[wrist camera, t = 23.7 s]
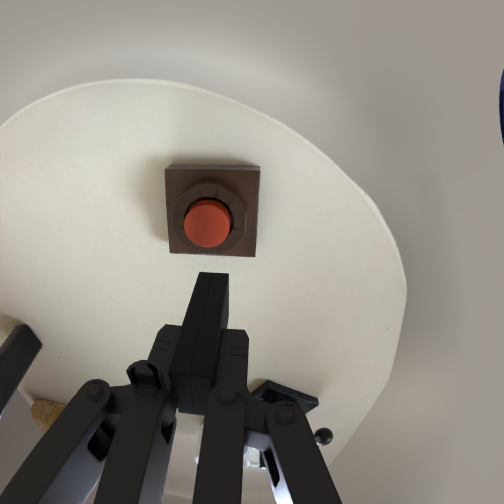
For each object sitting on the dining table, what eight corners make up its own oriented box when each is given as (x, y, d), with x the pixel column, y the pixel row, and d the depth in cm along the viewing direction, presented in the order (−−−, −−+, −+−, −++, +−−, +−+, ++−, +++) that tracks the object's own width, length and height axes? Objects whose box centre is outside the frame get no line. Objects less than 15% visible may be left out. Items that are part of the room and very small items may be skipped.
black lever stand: (317, 398, 45) (328, 461, 34) (285, 419, 49) (289, 477, 38) (267, 379, 43) (270, 450, 31) (236, 403, 46) (233, 467, 35)
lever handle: (330, 422, 46) (339, 437, 43) (317, 430, 47) (325, 445, 45) (277, 445, 36) (287, 465, 33) (262, 453, 37) (272, 471, 35)
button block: (259, 166, 28) (260, 174, 24) (255, 247, 32) (255, 266, 29) (170, 164, 28) (158, 172, 24) (174, 244, 32) (165, 261, 28)
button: (231, 199, 26) (229, 205, 24) (230, 240, 28) (228, 248, 26) (187, 198, 26) (183, 204, 24) (188, 238, 28) (185, 246, 26)
